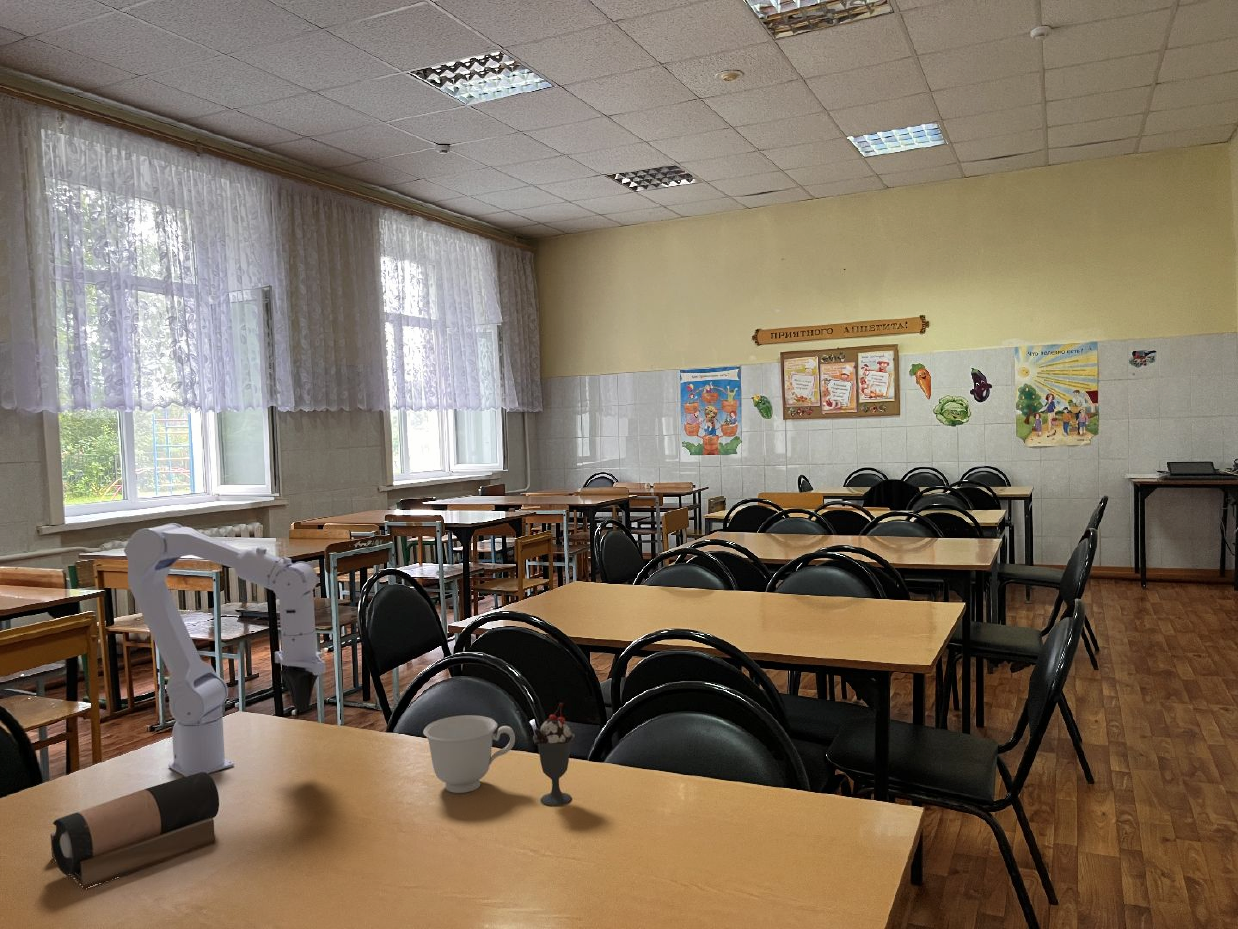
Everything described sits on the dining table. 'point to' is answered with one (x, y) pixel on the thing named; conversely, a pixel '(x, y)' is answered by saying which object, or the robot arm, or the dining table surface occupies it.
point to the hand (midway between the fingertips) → (301, 708)
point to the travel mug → (133, 819)
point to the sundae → (554, 755)
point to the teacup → (464, 749)
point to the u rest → (144, 853)
